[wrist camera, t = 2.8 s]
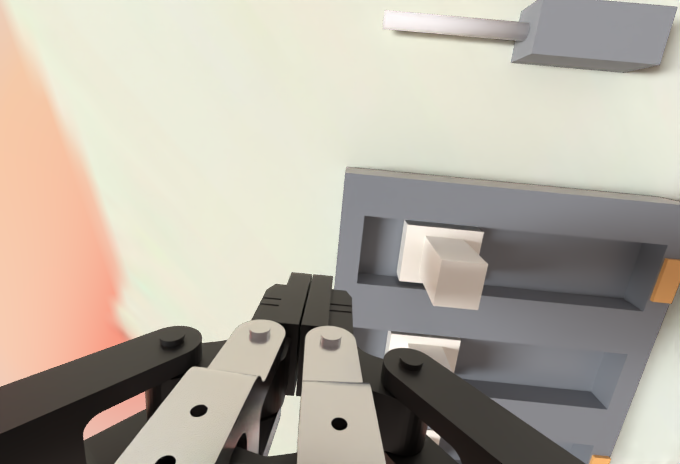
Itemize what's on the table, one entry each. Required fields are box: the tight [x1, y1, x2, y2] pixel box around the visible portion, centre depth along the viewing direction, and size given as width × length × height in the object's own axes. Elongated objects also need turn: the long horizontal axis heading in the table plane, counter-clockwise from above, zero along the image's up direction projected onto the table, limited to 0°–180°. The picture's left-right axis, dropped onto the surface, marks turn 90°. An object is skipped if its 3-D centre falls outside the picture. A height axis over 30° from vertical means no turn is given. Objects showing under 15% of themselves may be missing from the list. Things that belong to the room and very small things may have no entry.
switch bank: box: [334, 167, 680, 464], centre depth 22 cm, size 18×21×3 cm
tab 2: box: [385, 331, 461, 373], centre depth 20 cm, size 4×3×5 cm
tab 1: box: [397, 220, 488, 310], centre depth 18 cm, size 4×3×5 cm
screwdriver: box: [383, 0, 677, 73], centre depth 17 cm, size 13×2×2 cm, turn 85°
